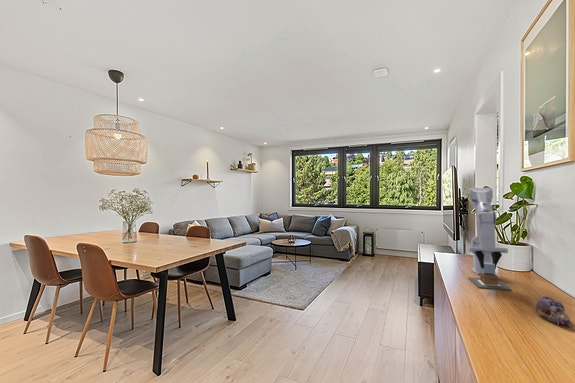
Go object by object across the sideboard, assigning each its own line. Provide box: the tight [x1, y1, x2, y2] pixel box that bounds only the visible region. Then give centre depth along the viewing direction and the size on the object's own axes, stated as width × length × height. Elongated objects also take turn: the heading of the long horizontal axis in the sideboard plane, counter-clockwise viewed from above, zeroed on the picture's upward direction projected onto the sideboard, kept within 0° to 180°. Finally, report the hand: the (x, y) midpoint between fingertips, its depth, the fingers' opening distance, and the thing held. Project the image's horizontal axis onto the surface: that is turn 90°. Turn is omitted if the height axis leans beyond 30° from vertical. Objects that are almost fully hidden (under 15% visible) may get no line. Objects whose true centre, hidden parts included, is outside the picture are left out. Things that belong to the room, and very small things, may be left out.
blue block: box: [482, 262, 497, 275], centre depth 120 cm, size 4×4×4 cm
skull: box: [534, 295, 572, 328], centre depth 86 cm, size 12×8×6 cm, turn 152°
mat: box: [468, 277, 513, 292], centre depth 120 cm, size 14×12×1 cm
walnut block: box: [479, 272, 499, 285], centre depth 120 cm, size 5×5×4 cm
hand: (488, 268), depth 121 cm, fingers closed on blue block, 4 cm apart
